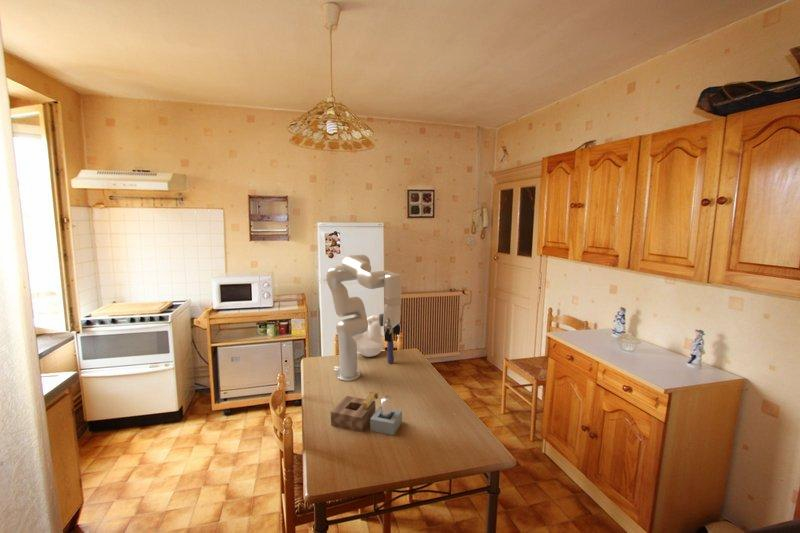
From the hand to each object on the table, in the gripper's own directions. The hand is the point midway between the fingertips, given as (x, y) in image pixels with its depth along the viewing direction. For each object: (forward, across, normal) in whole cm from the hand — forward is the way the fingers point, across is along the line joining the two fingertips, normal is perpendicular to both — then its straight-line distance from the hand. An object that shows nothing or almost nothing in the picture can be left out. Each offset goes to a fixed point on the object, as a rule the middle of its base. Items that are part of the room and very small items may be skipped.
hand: (392, 337), depth 165 cm
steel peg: (+31, +19, +5) cm, 37 cm away
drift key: (+25, +15, -4) cm, 29 cm away
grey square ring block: (+31, +19, +5) cm, 37 cm away
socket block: (+31, +19, -10) cm, 38 cm away
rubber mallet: (+32, -41, -18) cm, 55 cm away
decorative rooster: (+33, -47, -38) cm, 69 cm away
